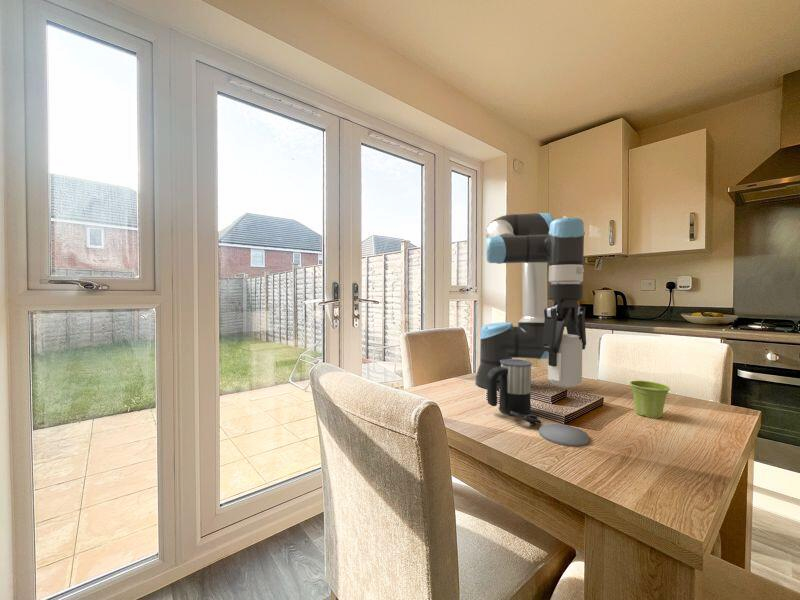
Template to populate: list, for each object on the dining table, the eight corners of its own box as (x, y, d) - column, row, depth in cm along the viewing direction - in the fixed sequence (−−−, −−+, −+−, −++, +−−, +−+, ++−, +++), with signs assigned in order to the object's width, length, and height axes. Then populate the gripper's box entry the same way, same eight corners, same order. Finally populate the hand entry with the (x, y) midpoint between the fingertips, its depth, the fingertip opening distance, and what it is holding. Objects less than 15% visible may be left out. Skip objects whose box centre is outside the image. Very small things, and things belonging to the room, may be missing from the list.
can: (586, 383, 83) (586, 334, 83) (575, 389, 78) (576, 337, 77) (554, 378, 88) (555, 332, 88) (542, 383, 83) (543, 334, 83)
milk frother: (511, 403, 107) (512, 357, 107) (560, 419, 94) (560, 366, 94) (481, 413, 99) (481, 363, 98) (530, 432, 86) (530, 373, 86)
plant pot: (655, 409, 102) (656, 380, 102) (677, 421, 92) (678, 390, 92) (622, 408, 103) (622, 380, 102) (641, 420, 93) (641, 389, 93)
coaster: (530, 433, 85) (530, 429, 85) (556, 423, 91) (556, 420, 91) (572, 450, 76) (572, 447, 76) (598, 438, 82) (598, 435, 82)
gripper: (555, 282, 74) (553, 387, 74) (603, 283, 85) (602, 374, 85) (525, 283, 80) (524, 379, 81) (574, 284, 91) (573, 369, 92)
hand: (564, 377), depth 83 cm, fingers closed on can, 7 cm apart
